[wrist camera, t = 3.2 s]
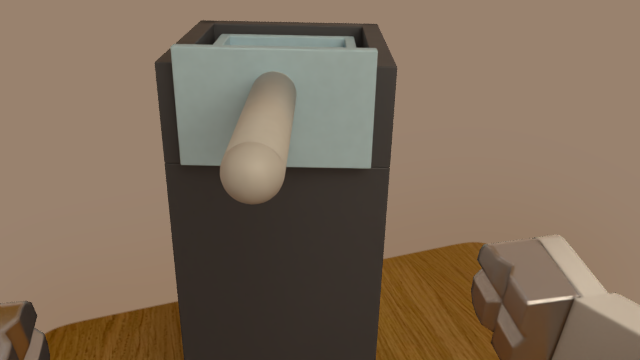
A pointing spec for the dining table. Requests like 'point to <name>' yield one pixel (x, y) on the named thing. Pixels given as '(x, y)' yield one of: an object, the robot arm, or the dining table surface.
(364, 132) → the tray
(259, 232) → the box
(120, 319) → the dining table surface
